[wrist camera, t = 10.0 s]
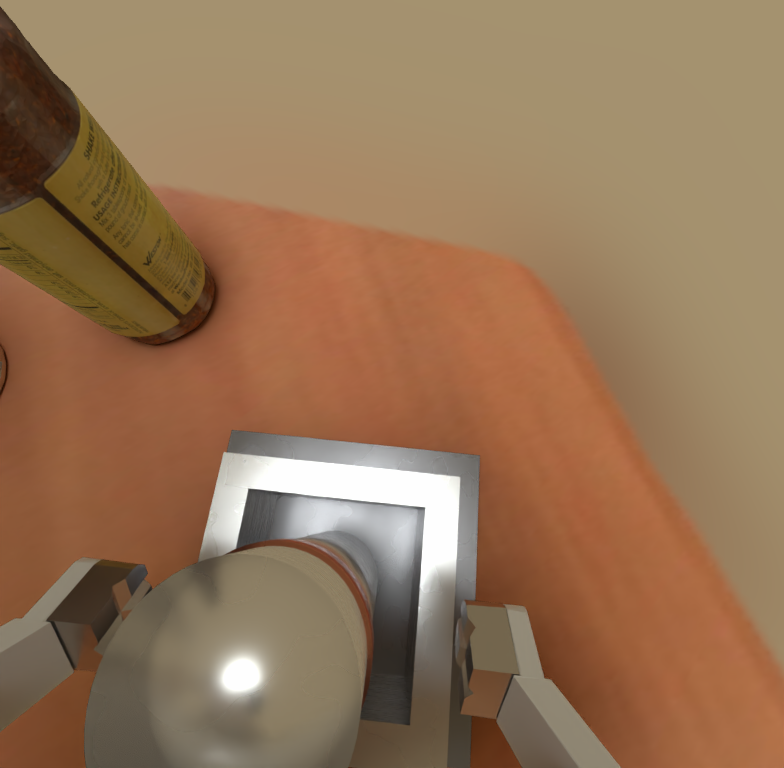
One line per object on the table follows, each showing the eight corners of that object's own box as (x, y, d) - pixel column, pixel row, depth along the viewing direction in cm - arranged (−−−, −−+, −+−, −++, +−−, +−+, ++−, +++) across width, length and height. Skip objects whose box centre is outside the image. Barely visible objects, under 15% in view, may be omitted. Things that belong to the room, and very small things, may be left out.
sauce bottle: (178, 236, 24) (-572, -774, 5) (242, 301, 23) (-459, -751, 4) (82, 303, 23) (-1458, -778, 4) (145, 377, 21) (-1785, -742, 2)
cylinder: (274, 630, 17) (30, 874, 5) (292, 523, 18) (129, 534, 7) (374, 640, 17) (347, 913, 5) (384, 533, 18) (382, 562, 6)
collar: (174, 720, 16) (87, 802, 12) (239, 434, 20) (194, 408, 16) (465, 755, 16) (497, 853, 11) (475, 458, 20) (502, 439, 15)
